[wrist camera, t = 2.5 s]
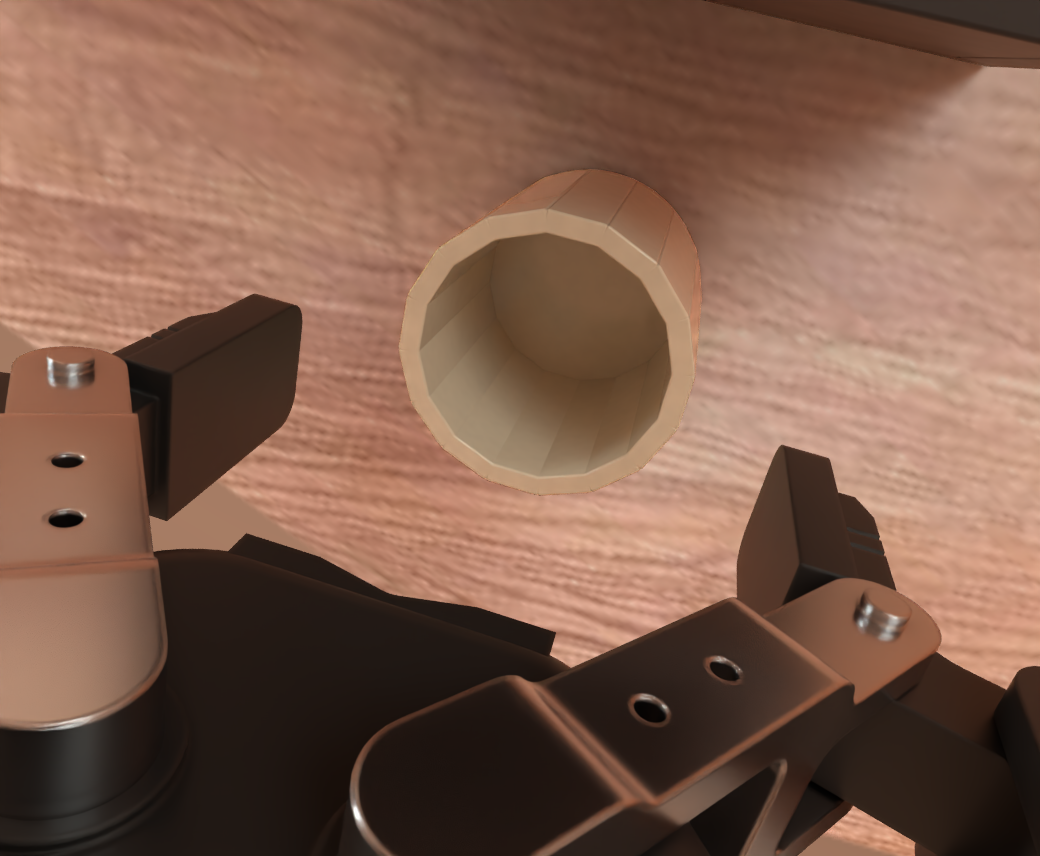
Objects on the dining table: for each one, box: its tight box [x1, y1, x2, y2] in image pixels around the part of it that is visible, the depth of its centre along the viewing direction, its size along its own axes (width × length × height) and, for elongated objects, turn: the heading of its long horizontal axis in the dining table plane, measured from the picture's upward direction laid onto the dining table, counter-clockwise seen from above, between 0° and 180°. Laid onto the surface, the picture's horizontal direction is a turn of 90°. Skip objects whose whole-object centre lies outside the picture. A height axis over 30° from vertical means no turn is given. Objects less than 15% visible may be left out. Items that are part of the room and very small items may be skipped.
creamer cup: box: [399, 169, 702, 496], centre depth 20 cm, size 6×6×6 cm
